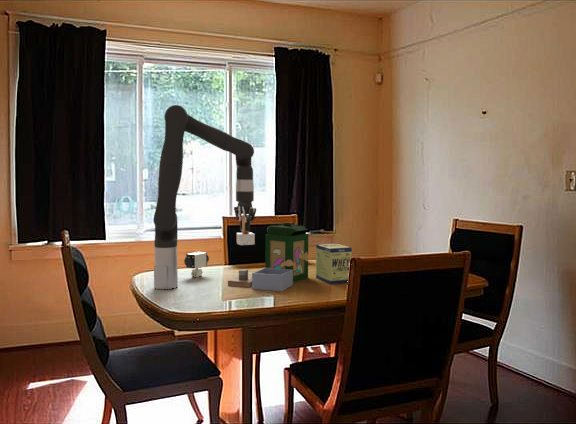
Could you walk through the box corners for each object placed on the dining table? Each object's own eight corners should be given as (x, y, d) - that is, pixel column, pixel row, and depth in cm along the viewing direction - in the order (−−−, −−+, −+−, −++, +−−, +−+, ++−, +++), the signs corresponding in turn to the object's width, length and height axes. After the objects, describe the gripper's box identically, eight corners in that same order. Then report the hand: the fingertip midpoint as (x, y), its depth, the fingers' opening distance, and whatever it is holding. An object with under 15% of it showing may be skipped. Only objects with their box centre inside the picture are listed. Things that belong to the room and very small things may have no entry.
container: (292, 283, 244) (292, 226, 242) (260, 278, 255) (260, 223, 253) (311, 278, 256) (311, 223, 254) (280, 273, 267) (280, 221, 265)
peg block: (254, 244, 240) (254, 217, 239) (239, 245, 238) (239, 218, 237) (251, 242, 246) (250, 216, 245) (236, 243, 244) (236, 216, 243)
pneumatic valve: (209, 275, 262) (209, 249, 261) (191, 279, 252) (191, 252, 251) (200, 274, 265) (200, 248, 264) (182, 278, 256) (182, 251, 255)
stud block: (249, 287, 237) (249, 272, 236) (227, 285, 240) (227, 271, 240) (258, 282, 246) (258, 268, 245) (237, 280, 249) (237, 267, 249)
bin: (281, 291, 229) (281, 275, 228) (252, 288, 233) (252, 273, 233) (292, 284, 241) (292, 269, 241) (264, 282, 246) (264, 267, 245)
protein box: (330, 284, 243) (330, 248, 242) (315, 277, 257) (315, 244, 256) (352, 282, 247) (352, 247, 245) (335, 276, 261) (336, 243, 260)
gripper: (261, 190, 237) (261, 231, 238) (242, 189, 247) (242, 228, 249) (247, 191, 232) (247, 232, 233) (228, 190, 243) (228, 229, 244)
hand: (244, 230), depth 241 cm, fingers closed on peg block, 2 cm apart
